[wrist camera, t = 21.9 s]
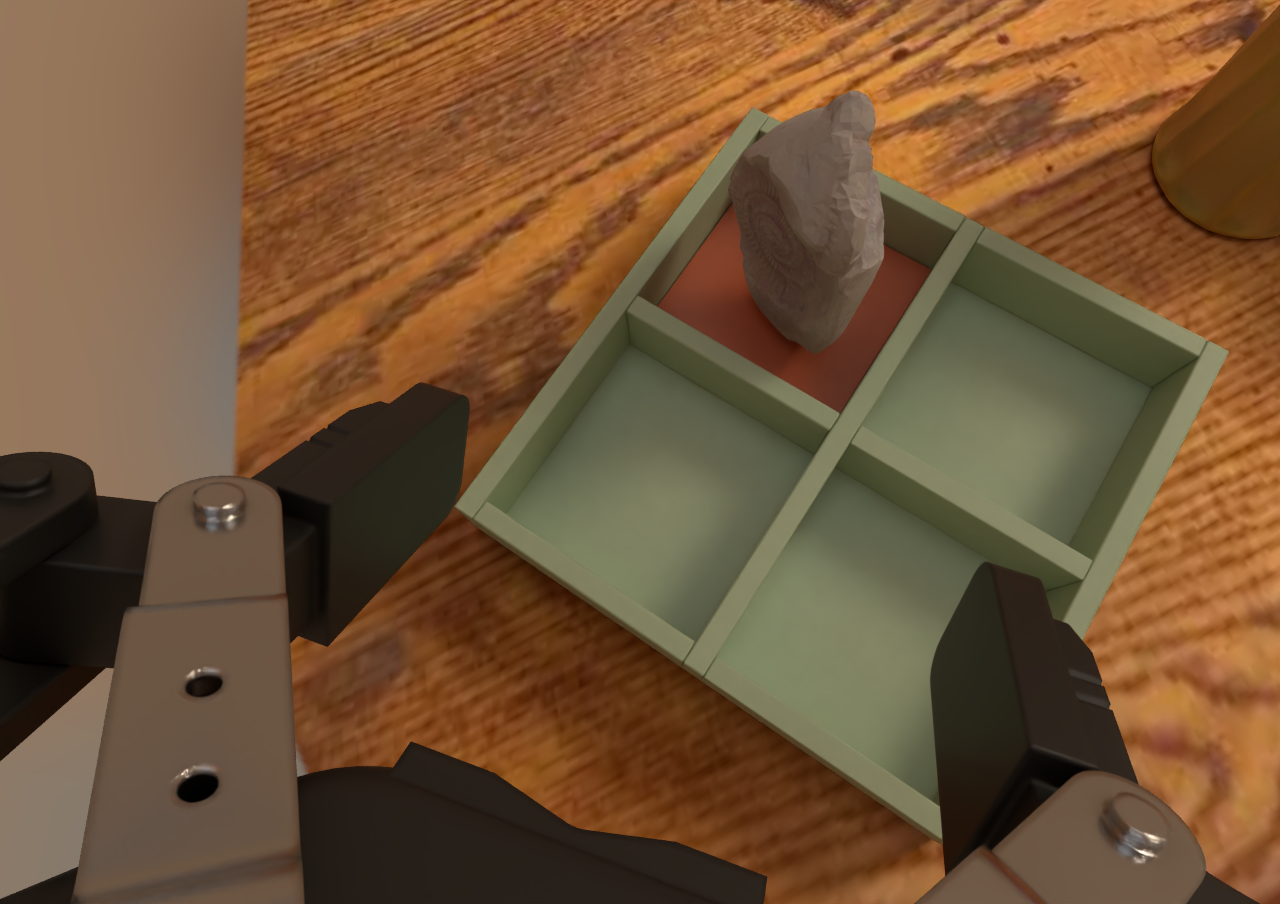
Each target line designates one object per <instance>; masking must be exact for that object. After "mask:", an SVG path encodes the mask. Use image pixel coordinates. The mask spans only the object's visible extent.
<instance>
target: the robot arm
mask: <svg viewBox="0 0 1280 904" xmlns="http://www.w3.org/2000/svg"><path fill="white" fill-rule="evenodd" d="M469 410H470V408H469V401H468V398H467V397H466V396H464V395H461V394H458V393H455V392H451V391H448V390H445V389H442V388H439V387H436V386H432V385H429V384H426V383H422V382H421V383H418V384H416V385H415V386H413V387H412V388H411V389H409V390H408V391H406V392H405V393H404V394H402V395H401V396H400V397H398V398H397V399H396V400H394V401H393V402H391V403H390V404H387V403H384V402H381V401H380V402H376V403H373V404H369V405H366V406H363V407H359V408H356V409H353V410H349V411H348V412H347V413H345V414H344V415H342V416H341V417H339V418H338V419H336V420H335V421H333V422H332V423H331V424H329V425H328V428H327V429H325V428H323V429H322V430H320V431H319V432H317V433H316V434H315V435H313V436H312V437H311V438H310V441H304V442H303V443H302V444H300V445H299V446H297V447H296V448H294V449H293V450H291V451H290V452H288V453H287V454H286V455H284V456H283V457H281V458H280V459H278V460H277V461H275V462H274V463H272V464H271V465H270V466H268V467H267V468H265V469H264V470H262V471H261V472H259V473H258V474H256V475H255V476H254V477H252V478H246V477H239V476H211V477H204V478H199V479H196V480H191V481H188V482H185V483H183V484H180V485H178V486H176V487H174V488H172V489H171V490H169V491H168V492H166V493H165V494H164V495H163V496H162V497H161V498H160V499H159V500H158V502H149V501H141V500H132V499H123V498H115V497H106V496H97V495H96V488H95V482H94V475H93V471H92V470H91V468H90V466H88V465H87V464H86V463H85V462H83V461H82V460H80V459H78V458H75V457H72V456H69V455H65V454H60V453H52V452H26V453H15V454H10V455H4V456H0V761H1V760H2V759H3V758H4V757H6V756H7V755H8V754H9V753H10V752H11V751H12V750H13V749H15V748H16V747H17V746H18V745H19V744H20V743H21V742H23V741H24V740H25V739H26V738H27V737H28V736H29V735H30V734H32V733H33V732H34V731H35V730H36V729H37V728H38V727H39V726H41V725H42V724H43V723H44V722H45V721H46V720H47V719H49V718H50V717H51V716H52V715H53V714H54V713H55V712H56V711H58V710H59V709H60V708H61V707H62V706H63V705H64V704H65V703H67V702H68V701H69V700H70V699H71V698H72V697H73V696H75V695H76V694H77V693H78V692H79V691H80V690H81V689H82V688H84V687H85V686H86V685H87V684H88V683H89V682H90V681H91V680H92V679H94V678H95V677H96V676H97V675H98V674H99V673H101V672H102V671H103V670H104V669H105V668H114V671H113V676H112V682H111V687H110V693H109V699H108V704H107V710H106V715H105V721H104V727H103V732H102V738H101V744H100V749H99V755H98V760H97V766H96V772H95V777H94V783H93V788H92V794H91V799H90V805H89V811H88V816H87V822H86V828H85V833H84V839H83V844H82V850H81V855H80V861H79V867H76V868H74V869H71V870H69V871H67V872H64V873H62V874H59V875H57V876H55V877H52V878H50V879H48V880H45V881H43V882H40V883H38V884H36V885H33V886H31V887H28V888H26V889H23V890H21V891H19V892H16V893H14V894H11V895H9V896H7V897H4V898H2V899H0V904H764V897H765V889H766V882H767V876H764V875H762V874H759V873H756V872H754V871H751V870H748V869H746V868H743V867H740V866H738V865H735V864H733V863H730V862H727V861H725V860H722V859H719V858H717V857H714V856H712V855H709V854H706V853H704V852H701V851H698V850H696V849H693V848H690V847H688V846H685V845H683V844H680V843H677V842H673V841H665V840H658V839H650V838H643V837H635V836H627V835H620V834H612V833H605V832H597V831H589V830H583V829H579V828H576V827H574V826H571V825H570V824H568V823H566V822H565V821H563V820H562V819H560V818H559V817H558V816H556V815H555V814H553V813H552V812H550V811H549V810H547V809H546V808H544V807H543V806H542V805H540V804H539V803H537V802H536V801H534V800H533V799H531V798H530V797H528V796H527V795H526V794H524V793H523V792H521V791H520V790H518V789H517V788H515V787H514V786H512V785H511V784H510V783H508V782H507V781H505V780H504V779H502V778H501V777H499V776H498V775H496V774H495V773H493V772H490V771H488V770H485V769H482V768H480V767H477V766H474V765H472V764H469V763H467V762H464V761H461V760H459V759H456V758H453V757H451V756H448V755H445V754H443V753H440V752H438V751H435V750H432V749H430V748H427V747H424V746H422V745H419V744H416V743H414V742H410V743H409V745H408V746H407V748H406V749H405V751H404V752H403V754H402V755H401V757H400V758H399V760H398V761H397V763H396V764H395V766H394V767H393V768H391V767H382V766H355V767H344V768H334V769H329V770H324V771H319V772H313V773H310V774H306V775H303V776H299V777H297V769H296V749H295V730H294V710H293V691H292V672H291V652H290V643H291V642H292V641H293V640H294V639H295V638H296V637H297V636H300V637H302V638H305V639H308V640H311V641H313V642H316V643H319V644H321V645H324V646H327V647H328V646H329V645H330V644H331V643H332V642H333V640H334V639H335V638H336V637H337V636H338V635H339V634H340V633H341V632H342V631H343V630H344V628H345V627H346V626H347V625H348V624H349V623H350V622H351V621H352V620H353V619H354V618H355V617H356V615H357V614H358V613H359V612H360V611H361V610H362V609H363V608H364V607H365V606H366V605H367V603H368V602H369V601H370V600H371V599H372V598H373V597H374V596H375V595H376V594H377V593H378V591H379V590H380V589H381V588H382V587H383V586H384V585H385V584H386V583H387V582H388V581H389V579H390V578H391V577H392V576H393V575H394V574H395V573H396V572H397V571H398V570H399V569H400V568H401V566H402V565H403V564H404V563H405V562H406V561H407V560H408V559H409V558H410V557H411V556H412V554H413V553H414V552H415V551H416V550H417V549H418V548H419V547H420V546H421V545H422V544H423V542H424V541H425V540H426V539H427V538H428V537H429V536H430V535H431V534H432V533H433V532H434V530H435V529H436V528H437V527H438V526H439V525H440V524H441V523H442V522H443V521H444V520H445V518H446V517H447V516H448V515H449V513H450V512H451V510H452V508H453V506H454V504H455V502H456V499H457V497H458V494H459V490H460V487H461V482H462V474H463V465H464V456H465V447H466V438H467V430H468V421H469ZM1101 682H1102V679H1101V676H1100V673H1099V670H1098V668H1097V665H1096V662H1095V659H1094V656H1093V653H1092V652H1091V651H1090V649H1089V648H1088V647H1087V646H1086V644H1085V643H1084V642H1083V641H1082V639H1081V638H1080V637H1079V636H1078V635H1077V633H1076V632H1075V631H1074V630H1073V628H1072V627H1071V626H1070V625H1069V624H1068V623H1065V622H1062V621H1059V620H1056V619H1053V616H1052V613H1051V610H1050V606H1049V603H1048V600H1047V597H1046V593H1045V590H1044V587H1043V584H1042V581H1041V580H1040V579H1039V578H1037V577H1034V576H1031V575H1028V574H1024V573H1021V572H1018V571H1015V570H1012V569H1009V568H1005V567H1002V566H999V565H996V564H993V563H990V562H984V563H982V564H981V565H980V566H979V567H978V569H977V570H976V571H975V573H974V575H973V577H972V579H971V581H970V583H969V585H968V587H967V588H966V590H965V592H964V594H963V596H962V598H961V600H960V602H959V604H958V606H957V608H956V610H955V612H954V614H953V615H952V617H951V619H950V621H949V623H948V625H947V627H946V629H945V631H944V633H943V635H942V637H941V639H940V641H939V643H938V645H937V648H936V651H935V654H934V658H933V662H932V666H931V673H930V689H931V702H932V715H933V727H934V740H935V752H936V765H937V777H938V790H939V803H940V815H941V828H942V840H943V853H944V865H945V877H944V878H943V879H942V880H940V881H939V882H938V883H937V884H936V885H935V886H934V887H933V888H931V889H930V890H929V891H928V892H927V893H926V894H925V895H924V896H922V897H921V898H920V899H919V900H918V901H917V902H916V903H915V904H1259V903H1258V902H1256V901H1254V900H1252V899H1251V898H1249V897H1247V896H1246V895H1244V894H1242V893H1241V892H1239V891H1237V890H1236V889H1234V888H1232V887H1230V886H1229V885H1227V884H1225V883H1224V882H1222V881H1221V880H1219V879H1217V878H1216V877H1214V876H1213V875H1211V874H1210V873H1208V872H1207V871H1206V863H1205V857H1204V854H1203V852H1202V849H1201V847H1200V845H1199V843H1198V841H1197V839H1196V837H1195V836H1194V834H1193V833H1192V831H1191V830H1190V829H1189V827H1188V826H1187V825H1186V824H1185V822H1184V821H1183V820H1182V819H1181V818H1180V817H1179V816H1178V815H1177V814H1176V813H1175V812H1174V811H1173V810H1172V809H1171V808H1170V807H1169V806H1168V805H1167V804H1165V803H1164V802H1163V801H1162V800H1161V799H1159V798H1158V797H1157V796H1155V795H1154V794H1152V793H1151V792H1150V791H1148V790H1146V789H1145V788H1143V787H1141V786H1140V785H1139V784H1138V781H1137V779H1136V776H1135V773H1134V770H1133V767H1132V764H1131V762H1130V759H1129V756H1128V753H1127V750H1126V747H1125V744H1124V742H1123V739H1122V736H1121V733H1120V730H1119V727H1118V725H1117V722H1116V719H1115V716H1114V713H1113V710H1110V709H1109V706H1110V702H1109V699H1108V696H1107V693H1106V690H1105V687H1104V686H1101Z"/></svg>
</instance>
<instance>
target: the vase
mask: <svg viewBox="0 0 1280 904" xmlns="http://www.w3.org/2000/svg"><path fill="white" fill-rule="evenodd" d="M1152 166H1153V170H1154V174H1155V176H1156V179H1157V181H1158V183H1159V185H1160V187H1161V189H1162V191H1163V192H1164V194H1165V196H1166V197H1167V199H1168V201H1169V202H1170V203H1171V204H1172V205H1173V206H1174V207H1175V208H1176V209H1177V210H1178V211H1179V212H1180V213H1181V214H1182V215H1184V216H1185V217H1186V218H1188V219H1189V220H1191V221H1192V222H1194V223H1195V224H1197V225H1199V226H1201V227H1202V228H1204V229H1207V230H1209V231H1211V232H1214V233H1217V234H1221V235H1225V236H1229V237H1235V238H1244V239H1262V238H1270V237H1274V236H1278V235H1280V5H1279V6H1278V7H1277V8H1276V10H1275V11H1274V12H1273V13H1272V14H1271V15H1270V16H1269V17H1268V18H1267V19H1266V20H1265V21H1264V22H1263V23H1262V24H1261V26H1260V27H1259V28H1258V29H1257V30H1256V31H1255V32H1254V33H1253V34H1252V35H1251V36H1250V37H1249V39H1248V40H1247V41H1246V42H1245V43H1244V44H1243V45H1242V46H1241V47H1240V48H1239V50H1238V51H1237V52H1236V53H1235V54H1234V55H1233V56H1232V57H1231V58H1230V60H1229V61H1228V62H1227V63H1226V64H1225V65H1224V66H1223V67H1222V68H1221V69H1220V70H1219V71H1218V73H1217V74H1216V75H1215V76H1214V77H1213V78H1212V79H1211V80H1210V81H1209V82H1208V83H1207V84H1206V85H1205V86H1204V87H1203V88H1202V89H1201V90H1200V91H1199V92H1198V93H1197V94H1196V95H1195V96H1194V97H1193V98H1192V99H1191V100H1190V101H1189V102H1187V103H1186V104H1185V105H1184V106H1182V107H1181V108H1180V109H1179V110H1177V111H1176V112H1175V113H1174V114H1172V115H1171V116H1170V117H1169V118H1168V119H1167V120H1166V121H1165V122H1164V123H1163V124H1162V126H1161V127H1160V129H1159V131H1158V133H1157V135H1156V137H1155V140H1154V144H1153V148H1152Z"/></svg>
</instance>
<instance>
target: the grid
mask: <svg viewBox="0 0 1280 904" xmlns="http://www.w3.org/2000/svg"><path fill="white" fill-rule="evenodd" d="M781 123H782V122H780V121H778V120H776V119H774V118H773V117H769V116H768V115H767V114H765V113H763V112H761V111H759V110H757V109H755V108H751V110H750V111H749V112H748V114H747V115H746V116H745V118H744V119H743V120H742V122H741V123H740V124H739V126H738V127H737V129H736V130H735V131H734V133H733V134H732V135H731V137H730V138H729V139H728V141H727V142H726V143H725V145H724V146H723V147H722V149H721V150H720V151H719V153H718V154H717V155H716V157H715V158H714V159H713V161H712V162H711V163H710V165H709V166H708V167H707V169H706V170H705V171H704V173H703V174H702V175H701V177H700V178H699V179H698V181H697V182H696V183H695V185H694V186H693V187H692V189H691V190H690V191H689V193H688V194H687V195H686V197H685V198H684V199H683V201H682V202H681V203H680V205H679V206H678V207H677V209H676V210H675V211H674V213H673V214H672V215H671V217H670V218H669V220H668V221H667V222H666V224H665V225H664V226H663V228H662V229H661V230H660V232H659V233H658V234H657V236H656V237H655V238H654V240H653V241H652V242H651V244H650V245H649V246H648V248H647V249H646V250H645V252H644V253H643V254H642V256H641V257H640V258H639V260H638V261H637V262H636V264H635V265H634V266H633V268H632V269H631V270H630V272H629V273H628V274H627V276H626V277H625V278H624V280H623V281H622V282H621V284H620V285H619V286H618V288H617V289H616V290H615V292H614V293H613V294H612V296H611V297H610V298H609V300H608V301H607V302H606V304H605V305H604V307H603V308H602V309H601V311H600V312H599V313H598V315H597V316H596V317H595V319H594V320H593V321H592V323H591V324H590V325H589V327H588V328H587V329H586V331H585V332H584V333H583V335H582V336H581V337H580V339H579V340H578V341H577V343H576V344H575V345H574V347H573V348H572V349H571V351H570V352H569V353H568V355H567V356H566V357H565V359H564V360H563V361H562V363H561V364H560V365H559V367H558V368H557V369H556V371H555V372H554V373H553V375H552V376H551V377H550V379H549V380H548V381H547V383H546V384H545V385H544V387H543V388H542V389H541V391H540V392H539V394H538V395H537V396H536V398H535V399H534V400H533V402H532V403H531V404H530V406H529V407H528V408H527V410H526V411H525V412H524V414H523V415H522V416H521V418H520V419H519V420H518V422H517V423H516V424H515V426H514V427H513V428H512V430H511V431H510V432H509V434H508V435H507V436H506V438H505V439H504V440H503V442H502V443H501V444H500V446H499V447H498V448H497V450H496V451H495V452H494V454H493V455H492V456H491V458H490V459H489V460H488V462H487V463H486V464H485V466H484V467H483V468H482V470H481V471H480V472H479V474H478V475H477V476H476V478H475V479H474V480H473V482H472V483H471V485H470V486H469V487H468V489H467V490H466V491H465V493H464V494H463V495H462V497H461V498H460V499H459V501H458V502H457V503H456V505H455V508H456V509H457V510H458V511H459V512H460V513H461V514H463V515H464V516H465V517H466V518H467V519H468V520H469V521H470V522H472V523H473V524H474V525H475V526H476V527H477V528H478V529H480V530H481V531H483V532H484V533H486V534H487V535H488V536H490V537H491V538H493V539H494V540H496V541H497V542H499V543H500V544H502V545H503V546H504V547H506V548H507V549H509V550H510V551H512V552H513V553H515V554H516V555H518V556H519V557H521V558H522V559H523V560H525V561H526V562H528V563H529V564H531V565H532V566H534V567H535V568H537V569H538V570H540V571H541V572H542V573H544V574H545V575H547V576H548V577H550V578H551V579H553V580H554V581H556V582H557V583H558V584H560V585H561V586H563V587H564V588H566V589H567V590H569V591H570V592H572V593H573V594H575V595H576V596H577V597H579V598H580V599H582V600H583V601H585V602H586V603H588V604H589V605H591V606H592V607H594V608H595V609H596V610H598V611H599V612H601V613H602V614H604V615H605V616H607V617H608V618H610V619H611V620H612V621H614V622H615V623H617V624H618V625H620V626H621V627H623V628H624V629H626V630H627V631H629V632H630V633H631V634H633V635H634V636H636V637H637V638H639V639H640V640H642V641H643V642H645V643H646V644H648V645H649V646H650V647H652V648H653V649H655V650H656V651H658V652H659V653H661V654H662V655H664V656H665V657H666V658H668V659H669V660H671V661H672V662H674V663H675V664H677V665H678V666H680V667H681V668H683V669H684V670H685V671H687V672H688V673H690V674H691V675H693V676H694V677H696V678H697V679H699V680H700V681H702V682H703V683H704V684H706V685H707V686H709V687H710V688H712V689H713V690H715V691H716V692H718V693H719V694H720V695H722V696H723V697H725V698H726V699H728V700H729V701H731V702H732V703H734V704H735V705H737V706H738V707H739V708H741V709H742V710H744V711H745V712H747V713H748V714H750V715H751V716H753V717H754V718H756V719H757V720H758V721H760V722H761V723H763V724H764V725H766V726H767V727H769V728H770V729H772V730H773V731H774V732H776V733H777V734H779V735H780V736H782V737H783V738H785V739H786V740H788V741H789V742H791V743H792V744H793V745H795V746H796V747H798V748H799V749H801V750H802V751H804V752H805V753H807V754H808V755H810V756H811V757H812V758H814V759H815V760H817V761H818V762H820V763H821V764H823V765H824V766H826V767H827V768H828V769H830V770H831V771H833V772H834V773H836V774H837V775H839V776H840V777H842V778H843V779H845V780H846V781H847V782H849V783H850V784H852V785H853V786H855V787H856V788H858V789H859V790H861V791H862V792H864V793H865V794H866V795H868V796H869V797H871V798H872V799H874V800H875V801H877V802H878V803H880V804H881V805H883V806H884V807H885V808H887V809H888V810H890V811H891V812H893V813H894V814H896V815H897V816H899V817H900V818H901V819H903V820H904V821H906V822H907V823H909V824H910V825H912V826H913V827H915V828H916V829H918V830H919V831H920V832H922V833H923V834H925V835H926V836H928V837H929V838H931V839H932V840H934V841H936V842H938V843H940V844H942V845H943V840H942V828H941V815H940V803H939V790H938V777H937V765H936V752H935V740H934V727H933V715H932V702H931V689H930V673H931V666H932V662H933V658H934V654H935V651H936V648H937V645H938V643H939V641H940V639H941V637H942V635H943V633H944V631H945V629H946V627H947V625H948V623H949V621H950V619H951V617H952V615H953V614H954V612H955V610H956V608H957V606H958V604H959V602H960V600H961V598H962V596H963V594H964V592H965V590H966V588H967V587H968V585H969V583H970V581H971V579H972V577H973V575H974V573H975V571H976V570H977V569H978V567H979V566H980V565H981V564H982V563H984V562H990V563H993V564H996V565H999V566H1002V567H1005V568H1009V569H1012V570H1015V571H1018V572H1021V573H1024V574H1028V575H1031V576H1034V577H1037V578H1039V579H1040V580H1041V581H1042V584H1043V587H1044V590H1045V593H1046V597H1047V600H1048V603H1049V606H1050V610H1051V613H1052V616H1053V619H1056V620H1059V621H1062V622H1065V623H1068V624H1069V625H1070V626H1071V627H1072V628H1073V630H1074V631H1075V632H1076V633H1077V635H1078V636H1079V637H1080V638H1081V639H1083V637H1084V635H1085V633H1086V631H1087V629H1088V627H1089V626H1090V624H1091V622H1092V620H1093V618H1094V616H1095V614H1096V612H1097V610H1098V608H1099V606H1100V604H1101V602H1102V600H1103V598H1104V596H1105V594H1106V592H1107V590H1108V588H1109V586H1110V584H1111V582H1112V580H1113V578H1114V577H1115V575H1116V573H1117V571H1118V569H1119V567H1120V565H1121V563H1122V561H1123V559H1124V557H1125V555H1126V553H1127V551H1128V549H1129V547H1130V545H1131V543H1132V541H1133V539H1134V537H1135V535H1136V533H1137V531H1138V529H1139V527H1140V526H1141V524H1142V522H1143V520H1144V518H1145V516H1146V514H1147V512H1148V510H1149V508H1150V506H1151V504H1152V502H1153V500H1154V498H1155V496H1156V494H1157V492H1158V490H1159V488H1160V486H1161V484H1162V482H1163V480H1164V478H1165V476H1166V475H1167V473H1168V471H1169V469H1170V467H1171V465H1172V463H1173V461H1174V459H1175V457H1176V455H1177V453H1178V451H1179V449H1180V447H1181V445H1182V443H1183V441H1184V439H1185V437H1186V435H1187V433H1188V431H1189V429H1190V427H1191V426H1192V424H1193V422H1194V420H1195V418H1196V416H1197V414H1198V412H1199V410H1200V408H1201V406H1202V404H1203V402H1204V400H1205V398H1206V396H1207V394H1208V392H1209V390H1210V388H1211V386H1212V384H1213V382H1214V380H1215V378H1216V376H1217V375H1218V373H1219V371H1220V369H1221V367H1222V365H1223V363H1224V361H1225V359H1226V357H1227V355H1228V353H1229V351H1228V350H1226V349H1224V348H1222V347H1220V346H1218V345H1216V344H1214V343H1212V342H1210V341H1207V340H1206V339H1205V338H1203V337H1201V336H1199V335H1197V334H1195V333H1193V332H1191V331H1189V330H1187V329H1185V328H1183V327H1181V326H1179V325H1177V324H1175V323H1173V322H1171V321H1169V320H1168V319H1166V318H1164V317H1162V316H1160V315H1158V314H1156V313H1154V312H1152V311H1150V310H1148V309H1146V308H1144V307H1142V306H1140V305H1138V304H1136V303H1134V302H1132V301H1130V300H1128V299H1126V298H1124V297H1123V296H1121V295H1119V294H1117V293H1115V292H1113V291H1111V290H1109V289H1107V288H1105V287H1103V286H1101V285H1099V284H1097V283H1095V282H1093V281H1091V280H1089V279H1087V278H1085V277H1083V276H1081V275H1080V274H1078V273H1076V272H1074V271H1072V270H1070V269H1068V268H1066V267H1064V266H1062V265H1060V264H1058V263H1056V262H1054V261H1052V260H1050V259H1048V258H1046V257H1044V256H1042V255H1040V254H1038V253H1037V252H1035V251H1033V250H1031V249H1029V248H1027V247H1025V246H1023V245H1021V244H1019V243H1017V242H1015V241H1013V240H1011V239H1009V238H1007V237H1005V236H1003V235H1001V234H999V233H997V232H995V231H993V230H992V229H990V228H988V227H985V228H984V226H983V225H981V224H979V223H977V222H975V221H973V220H971V219H969V218H965V216H964V215H962V214H960V213H958V212H956V211H954V210H952V209H950V208H948V207H947V206H945V205H943V204H941V203H939V202H937V201H935V200H933V199H931V198H929V197H927V196H925V195H923V194H921V193H919V192H917V191H915V190H913V189H911V188H909V187H907V186H905V185H904V184H902V183H900V182H898V181H896V180H894V179H892V178H890V177H888V176H886V175H884V174H882V173H880V172H878V171H876V170H874V169H872V170H873V171H874V173H875V174H876V176H877V178H878V186H879V191H880V196H881V202H882V208H883V214H884V229H883V232H884V241H883V245H884V258H883V261H882V263H881V265H880V268H879V269H878V271H877V273H876V276H875V278H874V280H873V282H872V284H871V286H870V288H869V289H868V291H867V293H866V294H865V296H864V298H863V300H862V301H861V303H860V305H859V306H858V308H857V310H856V312H855V313H854V315H853V317H852V319H851V320H850V322H849V324H848V325H847V327H846V329H845V330H844V332H843V333H842V334H841V336H840V337H839V338H838V339H837V340H836V341H835V342H834V343H833V344H831V345H830V346H828V347H827V348H825V349H824V350H823V351H821V352H820V353H818V354H813V353H811V352H809V351H807V350H806V349H805V348H804V347H803V346H801V345H800V344H798V343H797V342H795V341H791V340H788V339H787V338H786V337H785V336H784V335H782V334H781V333H780V332H779V330H778V329H777V328H776V327H775V326H774V325H773V324H772V323H771V322H770V321H769V320H768V319H767V317H766V316H765V315H764V314H763V313H762V311H761V310H760V309H759V307H758V306H757V304H756V303H755V301H754V299H753V298H752V296H751V294H750V291H749V288H748V285H747V281H746V278H745V274H744V268H743V257H744V255H743V253H742V251H741V249H740V237H741V231H740V227H739V224H738V222H737V218H736V213H735V211H734V207H733V201H732V199H731V196H730V195H729V191H728V187H729V184H730V177H731V174H732V172H733V170H734V168H735V166H736V165H737V162H738V160H739V158H740V156H741V155H742V153H743V152H745V151H746V150H747V149H748V148H749V147H750V146H752V145H753V144H754V143H755V142H757V141H758V140H759V139H761V138H762V137H763V136H764V135H766V134H767V133H768V132H769V131H771V130H772V129H773V128H775V127H776V126H778V125H779V124H781Z"/></svg>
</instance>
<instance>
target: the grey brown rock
mask: <svg viewBox="0 0 1280 904" xmlns="http://www.w3.org/2000/svg"><path fill="white" fill-rule="evenodd" d="M874 127H875V110H874V107H873V105H872V103H871V100H870V99H869V97H868V96H867V95H865V94H863V93H861V92H859V91H849V92H848V93H846V94H842V95H839V96H838V97H837V98H835V99H834V100H832V101H831V102H830V103H829V104H828V105H827V106H825V107H821V108H817V109H812V110H809V111H807V112H804V113H802V114H800V115H797V116H795V117H793V118H791V119H789V120H787V121H784V122H783V123H781V124H779V125H778V126H776V127H775V128H773V129H772V130H771V131H769V132H768V133H767V134H766V135H764V136H763V137H762V138H761V139H759V140H758V141H757V142H755V143H754V144H753V145H752V146H750V147H749V148H748V149H747V150H746V151H745V152H743V153H742V155H741V156H740V158H739V160H738V162H737V165H736V166H735V168H734V170H733V172H732V174H731V177H730V184H729V187H728V191H729V195H730V196H731V199H732V201H733V207H734V211H735V213H736V218H737V222H738V224H739V227H740V231H741V237H740V249H741V251H742V253H743V255H744V257H743V268H744V274H745V278H746V281H747V285H748V288H749V291H750V294H751V296H752V298H753V299H754V301H755V303H756V304H757V306H758V307H759V309H760V310H761V311H762V313H763V314H764V315H765V316H766V317H767V319H768V320H769V321H770V322H771V323H772V324H773V325H774V326H775V327H776V328H777V329H778V330H779V332H780V333H781V334H782V335H784V336H785V337H786V338H787V339H788V340H791V341H795V342H797V343H798V344H800V345H801V346H803V347H804V348H805V349H806V350H807V351H809V352H811V353H813V354H818V353H820V352H821V351H823V350H824V349H825V348H827V347H828V346H830V345H831V344H833V343H834V342H835V341H836V340H837V339H838V338H839V337H840V336H841V334H842V333H843V332H844V330H845V329H846V327H847V325H848V324H849V322H850V320H851V319H852V317H853V315H854V313H855V312H856V310H857V308H858V306H859V305H860V303H861V301H862V300H863V298H864V296H865V294H866V293H867V291H868V289H869V288H870V286H871V284H872V282H873V280H874V278H875V276H876V273H877V271H878V269H879V268H880V265H881V263H882V261H883V258H884V245H883V241H884V232H883V229H884V214H883V208H882V202H881V196H880V191H879V186H878V178H877V176H876V174H875V173H874V171H873V170H872V164H873V155H872V154H871V150H872V148H871V147H870V145H869V142H868V141H869V139H870V137H871V135H872V133H873V131H874Z"/></svg>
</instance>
